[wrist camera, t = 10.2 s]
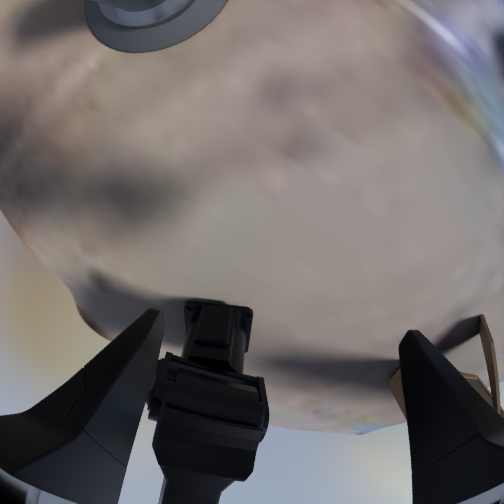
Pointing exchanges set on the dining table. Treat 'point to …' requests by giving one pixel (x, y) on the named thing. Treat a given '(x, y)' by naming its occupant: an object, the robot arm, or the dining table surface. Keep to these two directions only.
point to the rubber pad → (153, 38)
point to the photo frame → (466, 375)
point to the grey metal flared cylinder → (143, 11)
